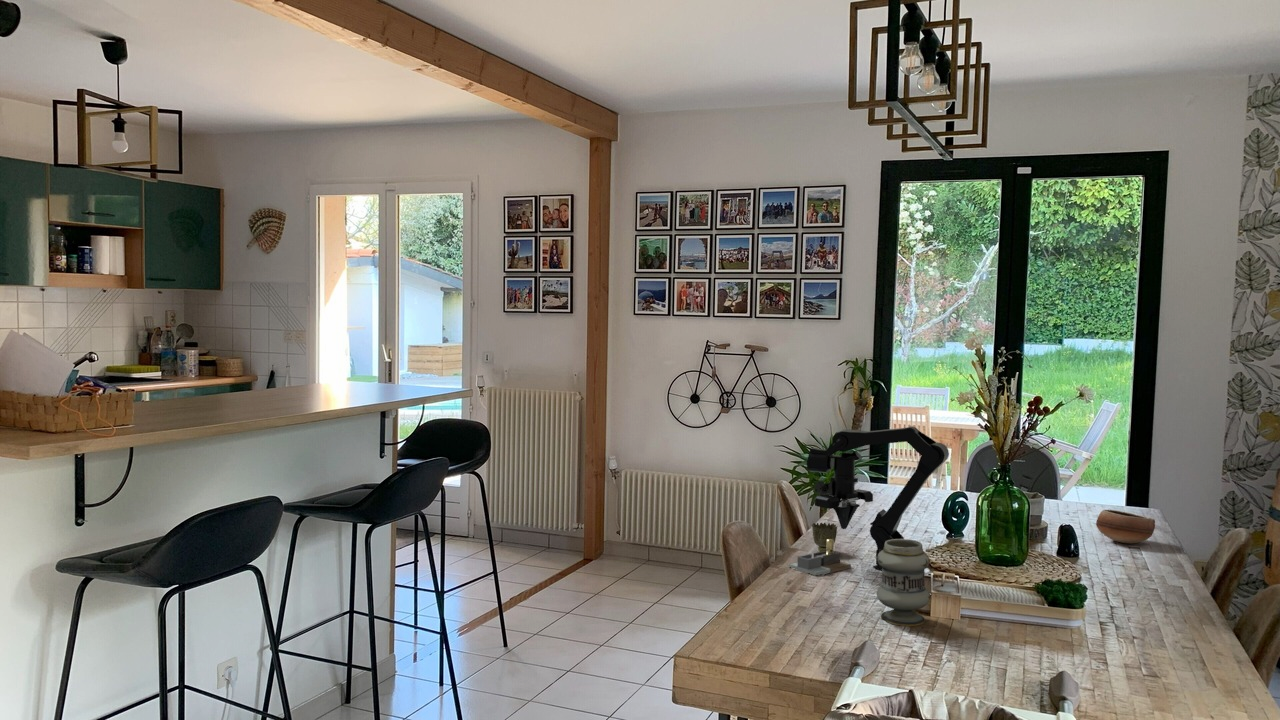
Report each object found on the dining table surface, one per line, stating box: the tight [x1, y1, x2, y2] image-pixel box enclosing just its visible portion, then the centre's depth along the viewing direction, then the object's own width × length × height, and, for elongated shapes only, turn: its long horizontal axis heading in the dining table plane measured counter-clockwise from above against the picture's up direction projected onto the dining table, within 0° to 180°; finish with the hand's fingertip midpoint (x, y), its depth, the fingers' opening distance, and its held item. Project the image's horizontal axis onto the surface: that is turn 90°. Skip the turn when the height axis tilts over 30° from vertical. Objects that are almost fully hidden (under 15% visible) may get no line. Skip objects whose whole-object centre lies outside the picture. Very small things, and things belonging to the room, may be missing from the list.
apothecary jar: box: [876, 538, 931, 627], centre depth 220 cm, size 12×12×18 cm
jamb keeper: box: [788, 553, 831, 576], centre depth 262 cm, size 10×6×4 cm, turn 37°
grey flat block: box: [813, 551, 852, 573], centre depth 266 cm, size 10×8×4 cm
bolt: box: [813, 539, 835, 565], centre depth 266 cm, size 2×6×6 cm, turn 127°
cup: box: [811, 522, 838, 552], centre depth 283 cm, size 8×7×8 cm
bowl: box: [1095, 509, 1156, 544], centre depth 296 cm, size 16×16×10 cm
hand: (843, 528), depth 270 cm, fingers closed
